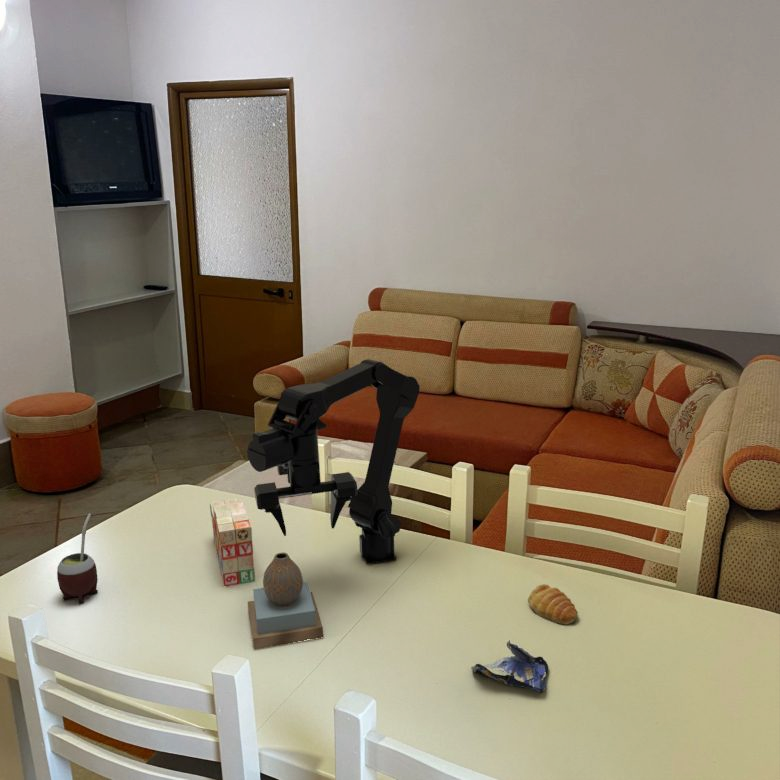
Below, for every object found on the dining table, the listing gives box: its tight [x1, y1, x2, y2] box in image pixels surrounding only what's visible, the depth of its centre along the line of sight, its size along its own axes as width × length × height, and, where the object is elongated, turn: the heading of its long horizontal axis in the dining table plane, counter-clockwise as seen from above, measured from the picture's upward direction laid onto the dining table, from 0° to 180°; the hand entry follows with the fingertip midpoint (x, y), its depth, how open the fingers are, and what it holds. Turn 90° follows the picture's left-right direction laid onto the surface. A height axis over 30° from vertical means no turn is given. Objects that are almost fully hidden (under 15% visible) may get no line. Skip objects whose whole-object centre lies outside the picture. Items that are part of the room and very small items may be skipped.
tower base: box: [247, 591, 324, 650], centre depth 137 cm, size 12×12×3 cm
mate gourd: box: [56, 513, 99, 606], centre depth 146 cm, size 8×8×15 cm
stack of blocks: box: [209, 497, 256, 587], centre depth 159 cm, size 21×6×12 cm, turn 18°
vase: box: [262, 552, 304, 606], centre depth 134 cm, size 7×7×9 cm
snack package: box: [470, 639, 549, 694], centre depth 121 cm, size 12×6×12 cm
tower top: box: [252, 581, 316, 634], centre depth 136 cm, size 10×10×3 cm
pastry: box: [527, 584, 579, 625], centre depth 139 cm, size 9×7×4 cm
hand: (308, 531), depth 146 cm, fingers open, 9 cm apart
